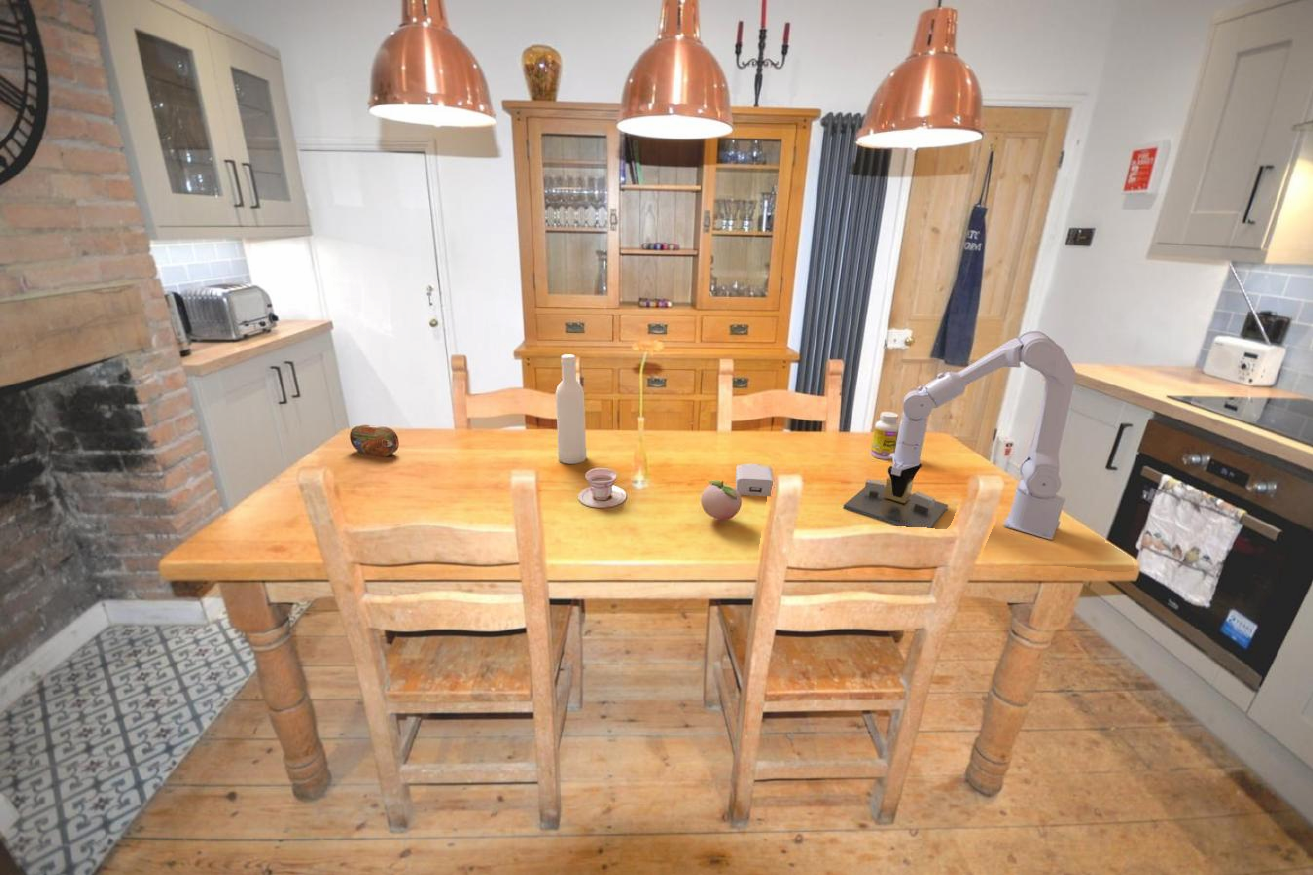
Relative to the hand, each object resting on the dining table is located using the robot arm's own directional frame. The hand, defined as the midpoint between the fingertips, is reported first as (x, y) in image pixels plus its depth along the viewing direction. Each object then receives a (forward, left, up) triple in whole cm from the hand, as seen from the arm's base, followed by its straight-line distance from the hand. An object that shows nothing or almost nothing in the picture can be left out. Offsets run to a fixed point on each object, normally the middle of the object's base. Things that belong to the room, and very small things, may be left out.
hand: (900, 492), depth 139 cm
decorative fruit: (+28, +37, -3) cm, 46 cm away
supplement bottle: (+14, -28, -3) cm, 31 cm away
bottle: (+80, +35, -3) cm, 87 cm away
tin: (+125, +70, -3) cm, 143 cm away
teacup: (+57, +46, -3) cm, 73 cm away
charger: (+33, +14, -3) cm, 36 cm away
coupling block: (+1, 0, -1) cm, 2 cm away
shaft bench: (0, +4, -3) cm, 4 cm away
